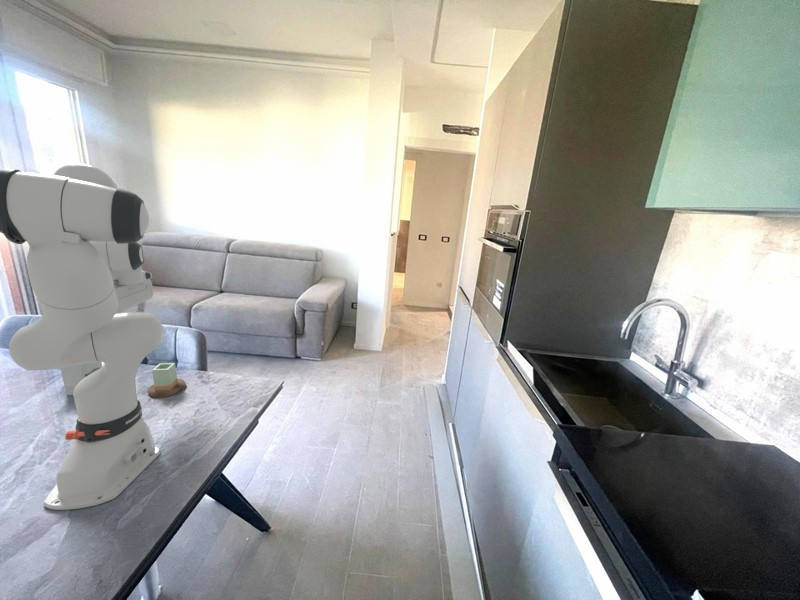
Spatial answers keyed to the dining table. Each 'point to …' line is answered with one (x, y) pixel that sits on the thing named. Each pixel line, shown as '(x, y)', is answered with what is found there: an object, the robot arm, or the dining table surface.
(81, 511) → the dining table surface
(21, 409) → the dining table surface
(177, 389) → the pin base
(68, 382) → the supplement box
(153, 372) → the sleeve
